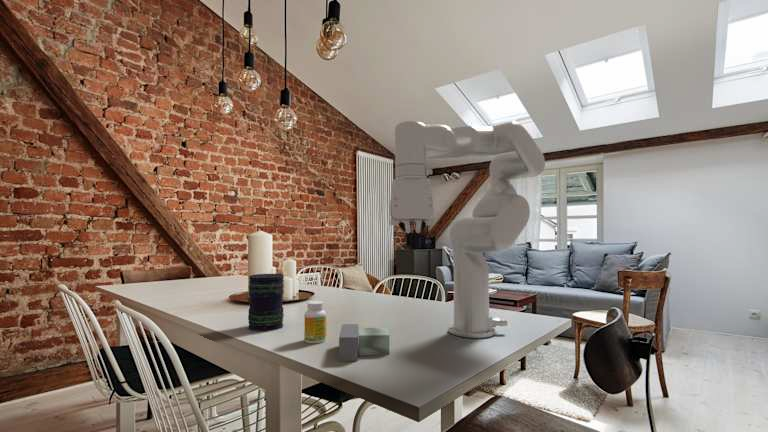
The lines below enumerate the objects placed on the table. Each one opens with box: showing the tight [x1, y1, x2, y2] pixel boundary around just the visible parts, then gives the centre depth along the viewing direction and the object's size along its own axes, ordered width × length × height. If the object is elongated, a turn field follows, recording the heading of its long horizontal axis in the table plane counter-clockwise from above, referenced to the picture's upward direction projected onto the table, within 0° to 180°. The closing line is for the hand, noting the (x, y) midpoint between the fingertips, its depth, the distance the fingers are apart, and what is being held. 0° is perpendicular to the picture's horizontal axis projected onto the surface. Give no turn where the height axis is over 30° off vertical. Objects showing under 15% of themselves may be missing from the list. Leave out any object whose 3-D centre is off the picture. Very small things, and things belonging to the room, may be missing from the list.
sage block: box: [358, 327, 390, 356], centre depth 92 cm, size 7×7×4 cm
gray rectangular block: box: [338, 323, 359, 362], centre depth 90 cm, size 4×12×5 cm, turn 3°
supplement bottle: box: [303, 300, 327, 344], centre depth 99 cm, size 5×5×10 cm
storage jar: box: [247, 273, 285, 332], centre depth 113 cm, size 10×10×15 cm
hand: (412, 249), depth 94 cm, fingers closed
